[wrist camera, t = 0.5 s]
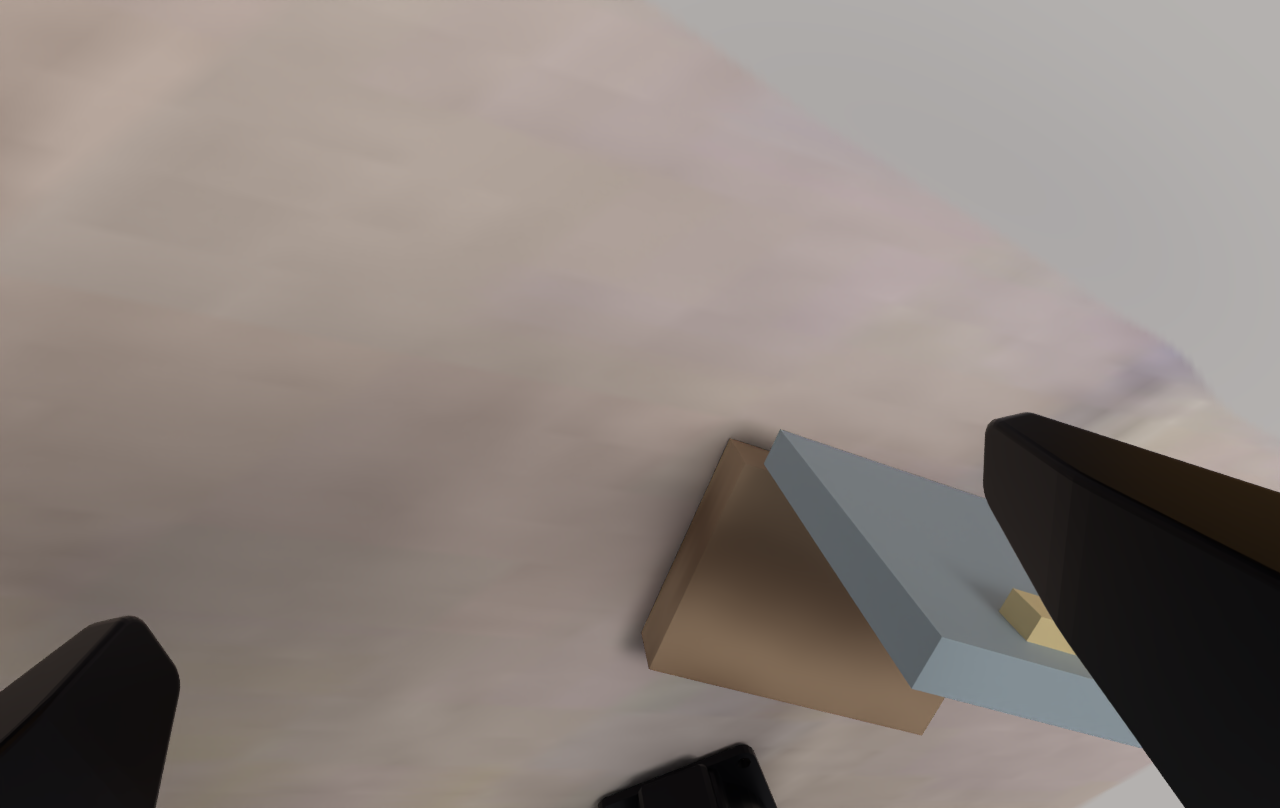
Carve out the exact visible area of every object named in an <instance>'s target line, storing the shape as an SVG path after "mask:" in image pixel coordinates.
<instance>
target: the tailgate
mask: <svg viewBox="0 0 1280 808" xmlns="http://www.w3.org/2000/svg"><path fill="white" fill-rule="evenodd" d="M764 465H765V467H766V468H767V470H768V471H769V473H770V474H771V476H772V477H773V479H774V480H775V482H776V483H777V485H778V486H779V488H780V489H781V491H782V492H783V494H784V495H785V497H786V499H787V500H788V502H789V503H790V505H791V506H792V508H793V509H794V511H795V512H796V514H797V515H798V517H799V518H800V520H801V521H802V523H803V524H804V526H805V527H806V529H807V530H808V532H809V534H810V535H811V537H812V538H813V540H814V541H815V543H816V544H817V546H818V547H819V549H820V550H821V552H822V553H823V555H824V556H825V558H826V559H827V561H828V562H829V564H830V565H831V567H832V569H833V570H834V572H835V573H836V575H837V576H838V578H839V579H840V581H841V582H842V584H843V585H844V587H845V588H846V590H847V591H848V593H849V594H850V596H851V597H852V599H853V600H854V602H855V604H856V605H857V607H858V608H859V610H860V611H861V613H862V614H863V616H864V617H865V619H866V620H867V622H868V623H869V625H870V626H871V628H872V629H873V631H874V632H875V634H876V635H877V637H878V639H879V640H880V642H881V643H882V645H883V646H884V648H885V649H886V651H887V652H888V654H889V655H890V657H891V658H892V660H893V661H894V663H895V664H896V666H897V667H898V669H899V670H900V672H901V674H902V675H903V677H904V678H905V680H906V681H907V683H908V684H909V686H910V687H911V689H915V690H918V691H922V692H926V693H930V694H934V695H938V696H942V697H945V698H949V699H953V700H957V701H961V702H965V703H969V704H973V705H976V706H980V707H984V708H988V709H992V710H996V711H1000V712H1003V713H1007V714H1011V715H1015V716H1019V717H1023V718H1027V719H1030V720H1034V721H1038V722H1042V723H1046V724H1050V725H1054V726H1058V727H1061V728H1065V729H1069V730H1073V731H1077V732H1081V733H1085V734H1088V735H1092V736H1096V737H1100V738H1104V739H1108V740H1112V741H1116V742H1119V743H1123V744H1127V745H1131V746H1135V747H1139V748H1142V747H1141V745H1140V744H1139V743H1138V741H1137V740H1136V738H1135V737H1134V735H1133V734H1132V733H1131V731H1130V730H1129V728H1128V727H1127V726H1126V724H1125V723H1124V721H1123V720H1122V719H1121V717H1120V716H1119V714H1118V713H1117V712H1116V710H1115V709H1114V707H1113V706H1112V705H1111V703H1110V702H1109V700H1108V699H1107V698H1106V696H1105V695H1104V693H1103V692H1102V691H1101V689H1100V688H1099V686H1098V685H1097V684H1096V682H1095V681H1094V679H1093V678H1092V677H1091V675H1090V674H1089V672H1088V671H1087V669H1086V668H1085V667H1084V665H1083V664H1082V662H1081V661H1080V660H1079V658H1078V657H1077V655H1076V654H1075V653H1074V651H1073V650H1072V648H1071V647H1070V646H1069V644H1068V643H1067V641H1066V640H1065V638H1064V637H1063V635H1062V634H1061V632H1060V631H1059V629H1058V628H1057V626H1056V625H1055V623H1054V621H1053V620H1052V618H1051V616H1050V615H1049V613H1048V611H1047V609H1046V608H1045V606H1044V604H1043V603H1042V601H1041V599H1040V597H1039V595H1038V594H1037V592H1036V590H1035V588H1034V586H1033V585H1032V583H1031V581H1030V579H1029V577H1028V576H1027V574H1026V572H1025V570H1024V568H1023V567H1022V565H1021V563H1020V561H1019V559H1018V558H1017V556H1016V554H1015V552H1014V550H1013V549H1012V547H1011V545H1010V543H1009V541H1008V540H1007V538H1006V536H1005V534H1004V532H1003V531H1002V529H1001V527H1000V525H999V523H998V522H997V520H996V518H995V516H994V514H993V513H992V511H991V509H990V507H989V505H988V503H987V500H986V499H985V498H982V497H979V496H976V495H973V494H970V493H967V492H964V491H961V490H958V489H955V488H952V487H949V486H946V485H943V484H941V483H938V482H935V481H932V480H929V479H926V478H923V477H920V476H917V475H914V474H911V473H908V472H905V471H902V470H899V469H896V468H893V467H890V466H887V465H884V464H881V463H878V462H875V461H872V460H869V459H867V458H864V457H861V456H858V455H855V454H852V453H849V452H846V451H843V450H840V449H837V448H834V447H831V446H828V445H825V444H822V443H819V442H816V441H813V440H810V439H807V438H804V437H801V436H798V435H795V434H793V433H790V432H787V431H784V430H781V429H780V431H779V433H778V435H777V437H776V439H775V441H774V443H773V446H772V448H771V450H770V452H769V454H768V456H767V458H766V460H765V462H764Z"/></svg>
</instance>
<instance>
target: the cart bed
mask: <svg viewBox="0 0 1280 808" xmlns="http://www.w3.org/2000/svg"><path fill="white" fill-rule="evenodd" d="M769 452H770V451H767V450H764V449H761V448H758V447H755V446H752V445H749V444H746V443H743V442H740V441H737V440H734V439H731V438H730V439H729V441H728V444H727V446H726V448H725V450H724V452H723V455H722V457H721V459H720V461H719V463H718V466H717V468H716V470H715V472H714V474H713V477H712V479H711V481H710V483H709V485H708V487H707V490H706V492H705V494H704V496H703V498H702V501H701V503H700V505H699V507H698V509H697V512H696V514H695V516H694V518H693V520H692V523H691V525H690V527H689V529H688V531H687V533H686V536H685V538H684V540H683V542H682V544H681V547H680V549H679V551H678V553H677V555H676V558H675V560H674V562H673V564H672V566H671V569H670V571H669V573H668V575H667V577H666V579H665V582H664V584H663V586H662V588H661V590H660V593H659V595H658V597H657V599H656V601H655V604H654V606H653V608H652V610H651V612H650V614H649V617H648V619H647V621H646V623H645V625H644V628H643V630H642V632H641V633H642V638H643V643H644V648H645V652H646V657H647V662H648V667H649V669H650V670H654V671H658V672H663V673H667V674H671V675H675V676H679V677H683V678H687V679H691V680H696V681H700V682H704V683H708V684H712V685H716V686H720V687H724V688H729V689H733V690H737V691H741V692H745V693H749V694H753V695H757V696H762V697H766V698H770V699H774V700H778V701H782V702H786V703H790V704H795V705H799V706H803V707H807V708H811V709H815V710H819V711H823V712H828V713H832V714H836V715H840V716H844V717H848V718H852V719H856V720H861V721H865V722H869V723H873V724H877V725H881V726H885V727H889V728H894V729H898V730H902V731H906V732H910V733H914V734H918V735H922V734H923V733H924V731H925V729H926V728H927V726H928V724H929V723H930V721H931V720H932V718H933V716H934V715H935V713H936V711H937V710H938V708H939V706H940V705H941V703H942V701H943V700H944V698H945V697H942V696H938V695H934V694H930V693H926V692H922V691H918V690H915V689H911V687H910V686H909V684H908V683H907V681H906V680H905V678H904V677H903V675H902V674H901V672H900V670H899V669H898V667H897V666H896V664H895V663H894V661H893V660H892V658H891V657H890V655H889V654H888V652H887V651H886V649H885V648H884V646H883V645H882V643H881V642H880V640H879V639H878V637H877V635H876V634H875V632H874V631H873V629H872V628H871V626H870V625H869V623H868V622H867V620H866V619H865V617H864V616H863V614H862V613H861V611H860V610H859V608H858V607H857V605H856V604H855V602H854V600H853V599H852V597H851V596H850V594H849V593H848V591H847V590H846V588H845V587H844V585H843V584H842V582H841V581H840V579H839V578H838V576H837V575H836V573H835V572H834V570H833V569H832V567H831V565H830V564H829V562H828V561H827V559H826V558H825V556H824V555H823V553H822V552H821V550H820V549H819V547H818V546H817V544H816V543H815V541H814V540H813V538H812V537H811V535H810V534H809V532H808V530H807V529H806V527H805V526H804V524H803V523H802V521H801V520H800V518H799V517H798V515H797V514H796V512H795V511H794V509H793V508H792V506H791V505H790V503H789V502H788V500H787V499H786V497H785V495H784V494H783V492H782V491H781V489H780V488H779V486H778V485H777V483H776V482H775V480H774V479H773V477H772V476H771V474H770V473H769V471H768V470H767V468H766V467H765V465H764V462H765V460H766V458H767V456H768V454H769Z"/></svg>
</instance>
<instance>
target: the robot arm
mask: <svg viewBox="0 0 1280 808" xmlns="http://www.w3.org/2000/svg"><path fill="white" fill-rule="evenodd" d="M983 488H984V493H985V497H986V500H987V503H988V505H989V507H990V509H991V511H992V513H993V514H994V516H995V518H996V520H997V522H998V523H999V525H1000V527H1001V529H1002V531H1003V532H1004V534H1005V536H1006V538H1007V540H1008V541H1009V543H1010V545H1011V547H1012V549H1013V550H1014V552H1015V554H1016V556H1017V558H1018V559H1019V561H1020V563H1021V565H1022V567H1023V568H1024V570H1025V572H1026V574H1027V576H1028V577H1029V579H1030V581H1031V583H1032V585H1033V586H1034V588H1035V590H1036V592H1037V594H1038V595H1039V597H1040V599H1041V601H1042V603H1043V604H1044V606H1045V608H1046V609H1047V611H1048V613H1049V615H1050V616H1051V618H1052V620H1053V621H1054V623H1055V625H1056V626H1057V628H1058V629H1059V631H1060V632H1061V634H1062V635H1063V637H1064V638H1065V640H1066V641H1067V643H1068V644H1069V646H1070V647H1071V648H1072V650H1073V651H1074V653H1075V654H1076V655H1077V657H1078V658H1079V660H1080V661H1081V662H1082V664H1083V665H1084V667H1085V668H1086V669H1087V671H1088V672H1089V674H1090V675H1091V677H1092V678H1093V679H1094V681H1095V682H1096V684H1097V685H1098V686H1099V688H1100V689H1101V691H1102V692H1103V693H1104V695H1105V696H1106V698H1107V699H1108V700H1109V702H1110V703H1111V705H1112V706H1113V707H1114V709H1115V710H1116V712H1117V713H1118V714H1119V716H1120V717H1121V719H1122V720H1123V721H1124V723H1125V724H1126V726H1127V727H1128V728H1129V730H1130V731H1131V733H1132V734H1133V735H1134V737H1135V738H1136V740H1137V741H1138V743H1139V744H1140V745H1141V747H1142V748H1143V750H1144V751H1145V752H1146V754H1147V755H1148V757H1149V758H1150V759H1151V761H1152V762H1153V764H1154V765H1155V766H1156V768H1157V769H1158V770H1159V772H1160V773H1161V775H1162V776H1163V777H1164V779H1165V780H1166V782H1167V783H1168V785H1169V786H1170V787H1171V789H1172V790H1173V792H1174V793H1175V794H1176V796H1177V797H1178V799H1179V800H1180V801H1181V803H1182V804H1183V806H1184V807H1185V808H1280V492H1276V491H1273V490H1270V489H1267V488H1264V487H1261V486H1258V485H1255V484H1252V483H1248V482H1245V481H1242V480H1239V479H1236V478H1233V477H1230V476H1227V475H1224V474H1221V473H1217V472H1214V471H1211V470H1208V469H1205V468H1202V467H1199V466H1196V465H1193V464H1189V463H1186V462H1183V461H1180V460H1177V459H1174V458H1171V457H1168V456H1165V455H1161V454H1158V453H1155V452H1152V451H1149V450H1146V449H1143V448H1140V447H1137V446H1134V445H1130V444H1127V443H1124V442H1121V441H1118V440H1115V439H1112V438H1109V437H1106V436H1102V435H1099V434H1096V433H1093V432H1090V431H1087V430H1084V429H1081V428H1078V427H1074V426H1071V425H1068V424H1065V423H1062V422H1059V421H1056V420H1053V419H1050V418H1047V417H1043V416H1040V415H1037V414H1034V413H1029V412H1025V413H1020V414H1015V415H1011V416H1006V417H1002V418H998V419H994V420H992V421H991V422H990V423H989V424H988V426H987V428H986V432H985V447H984V472H983ZM179 692H180V679H179V674H178V671H177V668H176V666H175V665H174V663H173V662H172V660H171V659H170V658H169V656H168V655H167V653H166V652H165V650H164V649H163V648H162V646H161V645H160V643H159V642H158V641H157V639H156V638H155V636H154V635H153V633H152V632H151V631H150V629H149V628H148V626H147V625H146V624H145V623H144V622H143V621H142V620H141V619H139V618H138V617H135V616H123V617H119V618H114V619H110V620H105V621H101V622H97V623H94V624H92V625H89V626H88V627H86V628H84V629H83V630H82V631H80V632H79V633H78V634H77V635H75V636H74V637H73V638H71V639H70V640H69V641H67V642H66V643H65V644H63V645H62V646H61V647H59V648H58V649H57V650H55V651H54V652H53V653H51V654H50V655H49V656H47V657H46V658H45V659H43V660H42V661H41V662H39V663H38V664H37V665H35V666H34V667H33V668H31V669H30V670H29V671H27V672H26V673H25V674H23V675H22V676H21V677H19V678H18V679H17V680H16V681H14V682H13V683H12V684H10V685H9V686H8V687H6V688H5V689H4V690H2V691H1V692H0V808H156V803H157V798H158V793H159V789H160V784H161V779H162V774H163V769H164V765H165V760H166V755H167V750H168V745H169V741H170V736H171V731H172V726H173V721H174V716H175V712H176V707H177V702H178V697H179ZM742 758H745V759H744V760H740V759H742ZM598 808H777V806H776V803H775V801H774V799H773V796H772V794H771V791H770V789H769V787H768V784H767V782H766V779H765V777H764V775H763V772H762V770H761V767H760V765H759V762H758V760H757V758H756V755H755V753H754V750H753V749H752V748H751V747H750V746H748V745H740V746H737V747H734V748H732V749H729V750H726V751H724V752H721V753H719V754H716V755H714V756H711V757H708V758H706V759H703V760H701V761H698V762H696V763H693V764H691V765H688V766H685V767H683V768H680V769H678V770H675V771H673V772H670V773H667V774H665V775H662V776H660V777H657V778H655V779H652V780H650V781H647V782H644V783H642V784H639V785H637V786H634V787H632V788H629V789H626V790H624V791H621V792H619V793H616V794H614V795H611V796H609V797H606V798H604V799H603V800H601V801H600V803H599V805H598Z"/></svg>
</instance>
